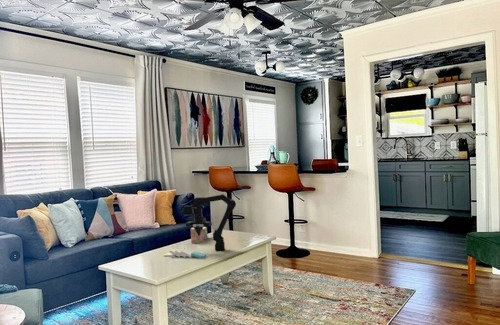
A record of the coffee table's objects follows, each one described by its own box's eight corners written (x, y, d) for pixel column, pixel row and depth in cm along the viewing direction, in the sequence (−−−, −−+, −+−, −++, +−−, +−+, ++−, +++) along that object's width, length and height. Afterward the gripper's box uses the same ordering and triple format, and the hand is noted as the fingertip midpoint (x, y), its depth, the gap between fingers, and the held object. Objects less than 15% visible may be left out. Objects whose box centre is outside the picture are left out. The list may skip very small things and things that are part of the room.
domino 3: (189, 253, 270) (179, 248, 273) (185, 255, 265) (175, 250, 268) (189, 255, 270) (178, 250, 273) (185, 257, 265) (174, 252, 268)
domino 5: (206, 254, 265) (194, 251, 268) (202, 256, 260) (191, 253, 263) (205, 256, 265) (194, 253, 268) (202, 258, 260) (190, 255, 264)
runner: (211, 256, 266) (211, 255, 266) (204, 260, 257) (204, 259, 257) (179, 254, 276) (179, 254, 276) (171, 258, 267) (171, 258, 267)
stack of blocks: (200, 237, 329) (199, 223, 329) (207, 237, 328) (206, 223, 327) (191, 243, 308) (190, 228, 308) (198, 243, 307) (197, 228, 307)
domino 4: (195, 253, 268) (184, 248, 271) (191, 255, 263) (180, 250, 266) (194, 255, 268) (184, 250, 271) (190, 257, 264) (180, 252, 267)
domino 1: (178, 252, 273) (167, 252, 276) (174, 254, 268) (163, 254, 272) (178, 255, 273) (167, 255, 277) (174, 257, 268) (163, 257, 272)
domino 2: (184, 253, 271) (173, 248, 274) (180, 255, 267) (169, 250, 270) (183, 255, 272) (173, 250, 275) (179, 257, 267) (169, 252, 270)
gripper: (214, 212, 283) (215, 233, 284) (191, 212, 289) (193, 233, 290) (207, 215, 273) (209, 237, 273) (184, 215, 279) (185, 236, 279)
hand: (199, 235), depth 279 cm, fingers closed
